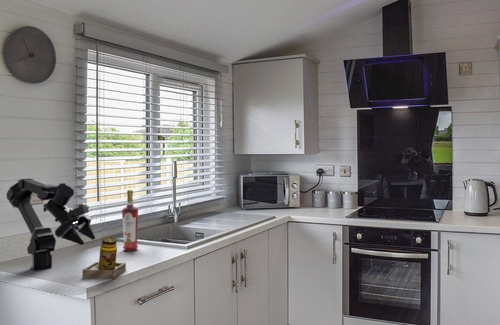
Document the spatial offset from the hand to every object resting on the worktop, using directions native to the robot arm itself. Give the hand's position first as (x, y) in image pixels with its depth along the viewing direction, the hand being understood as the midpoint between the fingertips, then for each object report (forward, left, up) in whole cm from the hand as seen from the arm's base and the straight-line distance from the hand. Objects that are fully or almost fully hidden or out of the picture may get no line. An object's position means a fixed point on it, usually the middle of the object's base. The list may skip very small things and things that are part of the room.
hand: (89, 241), depth 170 cm
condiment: (+5, -3, -11) cm, 12 cm away
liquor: (+27, +28, -13) cm, 41 cm away
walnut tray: (+4, -4, -12) cm, 14 cm away
